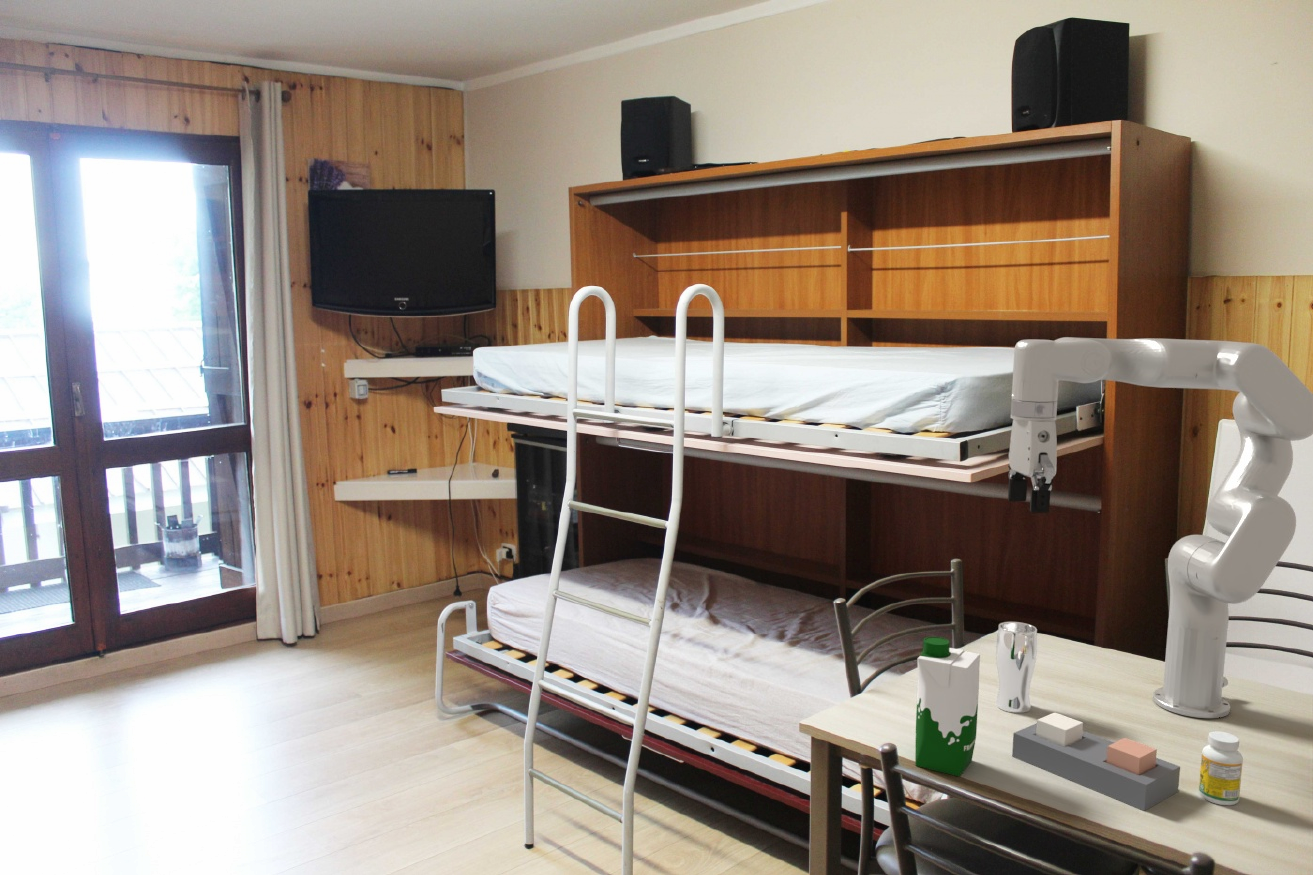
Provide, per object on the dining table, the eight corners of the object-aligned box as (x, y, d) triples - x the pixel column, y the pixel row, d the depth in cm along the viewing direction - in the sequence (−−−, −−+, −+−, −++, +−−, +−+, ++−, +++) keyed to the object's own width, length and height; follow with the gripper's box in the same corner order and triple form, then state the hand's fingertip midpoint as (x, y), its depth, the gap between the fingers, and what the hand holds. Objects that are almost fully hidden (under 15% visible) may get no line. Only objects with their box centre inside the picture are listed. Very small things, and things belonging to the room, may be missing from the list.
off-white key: (1053, 732, 169) (1054, 712, 169) (1081, 743, 166) (1083, 722, 165) (1035, 740, 166) (1037, 719, 166) (1064, 751, 163) (1065, 730, 162)
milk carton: (924, 746, 171) (930, 630, 168) (980, 759, 166) (986, 640, 163) (907, 766, 163) (913, 645, 161) (964, 781, 159) (971, 656, 156)
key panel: (1047, 740, 173) (1048, 718, 173) (1178, 791, 156) (1180, 766, 155) (1012, 756, 167) (1013, 732, 167) (1144, 810, 150) (1146, 785, 149)
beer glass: (1027, 700, 191) (1032, 621, 189) (1037, 715, 184) (1042, 634, 182) (989, 698, 191) (993, 620, 189) (997, 713, 185) (1002, 632, 182)
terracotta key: (1123, 759, 160) (1124, 737, 160) (1155, 771, 156) (1156, 749, 156) (1106, 767, 157) (1107, 746, 157) (1137, 780, 153) (1139, 757, 153)
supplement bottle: (1234, 810, 150) (1240, 748, 149) (1194, 798, 154) (1199, 737, 153) (1242, 796, 155) (1248, 736, 153) (1203, 785, 158) (1208, 726, 157)
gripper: (1077, 416, 171) (1070, 517, 174) (1034, 405, 188) (1028, 497, 191) (1032, 416, 171) (1026, 517, 173) (994, 405, 188) (989, 497, 190)
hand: (1027, 506), depth 182 cm, fingers open, 9 cm apart
